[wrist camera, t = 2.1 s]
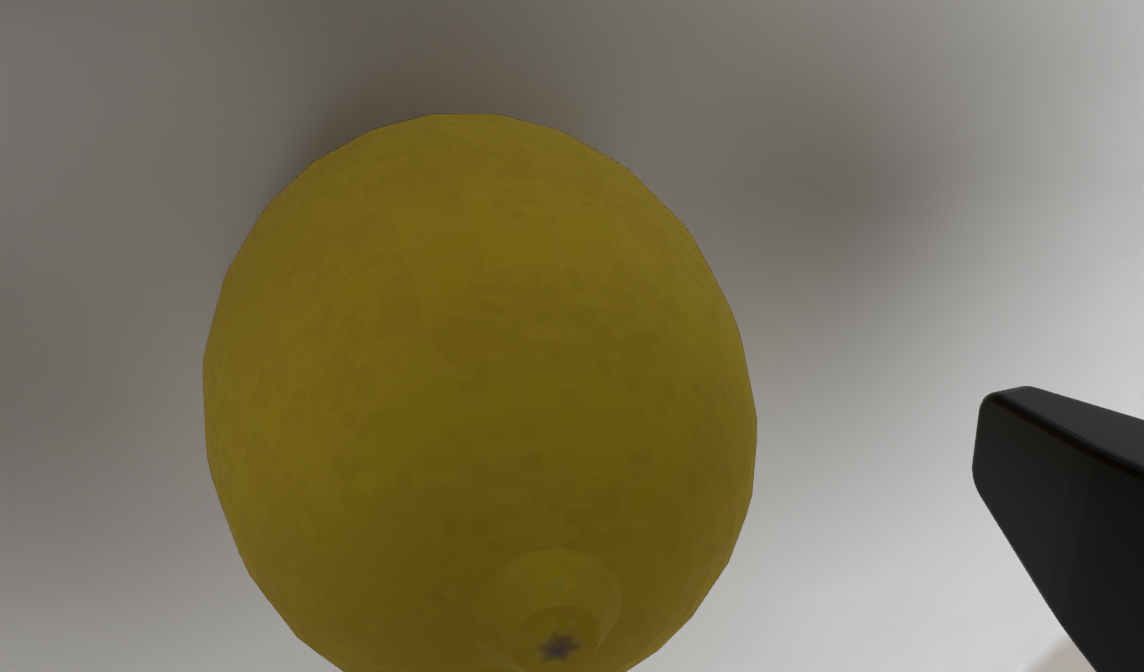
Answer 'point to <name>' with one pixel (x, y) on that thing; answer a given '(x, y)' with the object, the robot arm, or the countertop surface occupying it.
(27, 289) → the countertop surface
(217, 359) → the lemon
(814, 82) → the countertop surface
